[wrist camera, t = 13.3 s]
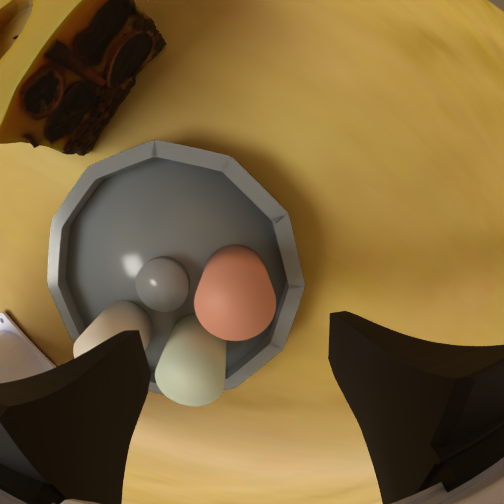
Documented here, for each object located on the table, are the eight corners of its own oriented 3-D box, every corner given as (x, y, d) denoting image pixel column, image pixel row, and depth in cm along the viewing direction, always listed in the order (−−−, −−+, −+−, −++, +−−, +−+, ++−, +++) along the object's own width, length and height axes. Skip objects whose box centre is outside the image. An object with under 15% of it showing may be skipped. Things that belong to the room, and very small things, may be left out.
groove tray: (185, 409, 23) (182, 426, 20) (33, 274, 19) (18, 282, 17) (342, 274, 20) (353, 284, 18) (165, 97, 17) (157, 88, 15)
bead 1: (102, 340, 20) (75, 376, 15) (104, 293, 19) (71, 324, 14) (150, 354, 20) (132, 396, 15) (155, 308, 19) (134, 344, 14)
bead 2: (278, 280, 19) (291, 311, 14) (229, 314, 20) (228, 353, 15) (241, 231, 18) (243, 248, 14) (191, 268, 19) (177, 297, 14)
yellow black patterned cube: (169, 44, 16) (128, -39, 6) (89, 160, 18) (-7, 151, 8) (82, 10, 14) (25, -46, 5) (16, 109, 16) (-66, 91, 6)
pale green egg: (201, 370, 21) (194, 415, 16) (160, 337, 20) (141, 378, 15) (238, 338, 20) (239, 382, 15) (195, 302, 19) (183, 339, 14)
